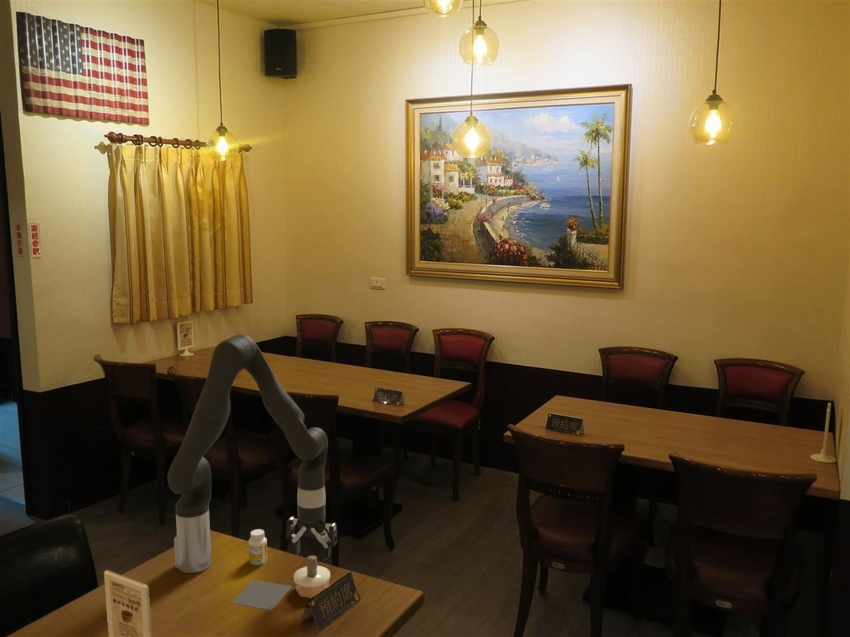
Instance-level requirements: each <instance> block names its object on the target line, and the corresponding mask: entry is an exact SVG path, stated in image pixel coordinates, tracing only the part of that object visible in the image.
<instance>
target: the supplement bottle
mask: <svg viewBox="0 0 850 637" xmlns="http://www.w3.org/2000/svg"><path fill="white" fill-rule="evenodd" d="M247 545H248V563H249V564H250V565H251V566H262V565H264V564H266V563H267V562H268V539H267V537H265V530H264V529H261V528H257V529H254V530H251V531H250V538H249V539H248V544H247Z"/></svg>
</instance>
